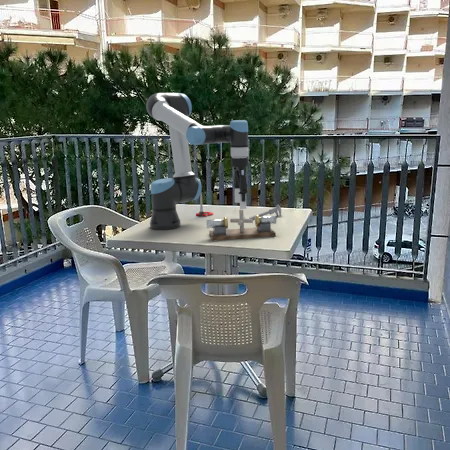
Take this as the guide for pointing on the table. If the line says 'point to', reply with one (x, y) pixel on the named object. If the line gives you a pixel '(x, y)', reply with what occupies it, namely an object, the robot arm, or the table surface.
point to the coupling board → (241, 234)
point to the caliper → (269, 212)
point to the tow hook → (202, 209)
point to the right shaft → (264, 223)
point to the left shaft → (218, 226)
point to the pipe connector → (241, 220)
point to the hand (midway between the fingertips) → (240, 205)
